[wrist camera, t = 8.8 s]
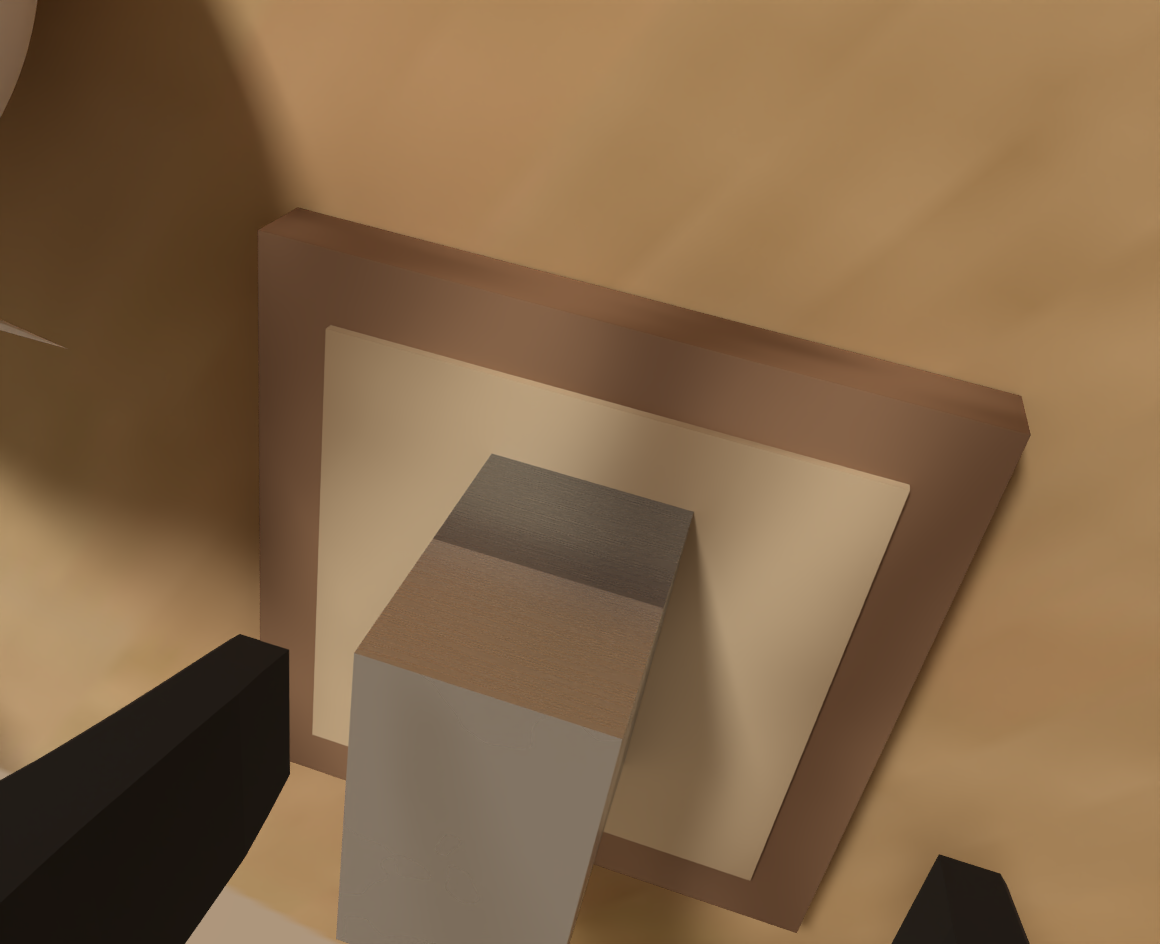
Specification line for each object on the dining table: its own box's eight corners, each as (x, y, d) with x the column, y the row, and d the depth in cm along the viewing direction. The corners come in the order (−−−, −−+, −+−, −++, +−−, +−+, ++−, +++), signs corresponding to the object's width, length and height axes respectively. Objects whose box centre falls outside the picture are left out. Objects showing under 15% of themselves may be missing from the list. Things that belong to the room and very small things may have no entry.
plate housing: (693, 511, 19) (622, 738, 14) (623, 764, 23) (547, 1015, 18) (491, 453, 20) (354, 652, 15) (455, 710, 23) (336, 939, 18)
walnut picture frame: (1021, 395, 18) (1032, 440, 17) (801, 881, 26) (796, 940, 24) (297, 207, 20) (252, 233, 19) (289, 711, 28) (257, 757, 26)
